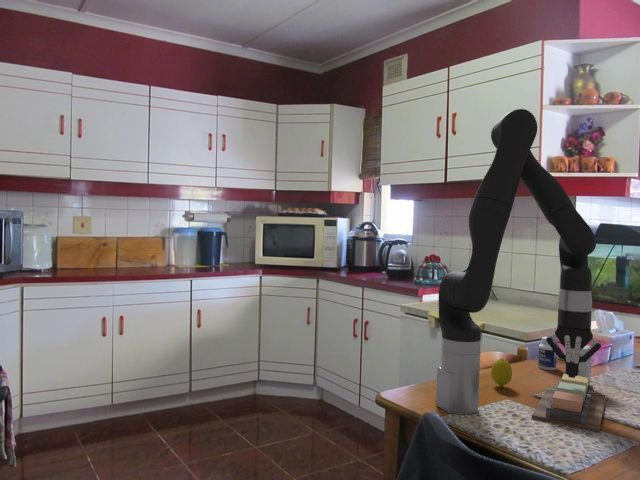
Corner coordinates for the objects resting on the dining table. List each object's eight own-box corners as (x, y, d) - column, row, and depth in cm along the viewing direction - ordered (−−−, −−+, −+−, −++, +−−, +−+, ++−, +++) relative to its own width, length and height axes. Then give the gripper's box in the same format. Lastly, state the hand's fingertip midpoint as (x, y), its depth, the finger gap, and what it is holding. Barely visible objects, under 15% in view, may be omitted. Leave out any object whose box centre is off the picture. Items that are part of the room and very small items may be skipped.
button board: (599, 432, 116) (599, 418, 116) (531, 418, 123) (532, 405, 123) (605, 398, 140) (605, 386, 140) (548, 388, 148) (548, 377, 147)
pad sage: (583, 404, 128) (584, 391, 128) (556, 399, 131) (557, 387, 131) (585, 397, 133) (586, 385, 133) (559, 393, 136) (559, 381, 136)
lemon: (507, 391, 144) (509, 362, 144) (487, 386, 147) (488, 358, 147) (514, 386, 148) (515, 358, 148) (494, 382, 152) (495, 354, 151)
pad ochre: (586, 394, 136) (586, 382, 135) (560, 390, 139) (561, 378, 138) (588, 388, 141) (588, 377, 141) (563, 384, 144) (563, 373, 144)
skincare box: (574, 384, 152) (575, 343, 152) (590, 387, 149) (592, 345, 149) (568, 389, 147) (570, 346, 147) (585, 392, 145) (587, 349, 144)
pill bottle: (535, 368, 169) (537, 337, 169) (540, 364, 173) (541, 335, 173) (553, 371, 166) (555, 340, 165) (558, 368, 170) (559, 337, 170)
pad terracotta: (580, 415, 120) (581, 402, 120) (551, 409, 123) (552, 397, 123) (582, 407, 125) (583, 395, 125) (555, 402, 128) (555, 390, 128)
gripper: (543, 307, 131) (541, 376, 132) (604, 312, 125) (601, 385, 125) (547, 303, 138) (545, 369, 139) (605, 308, 131) (602, 377, 132)
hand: (572, 376), depth 132 cm, fingers closed
